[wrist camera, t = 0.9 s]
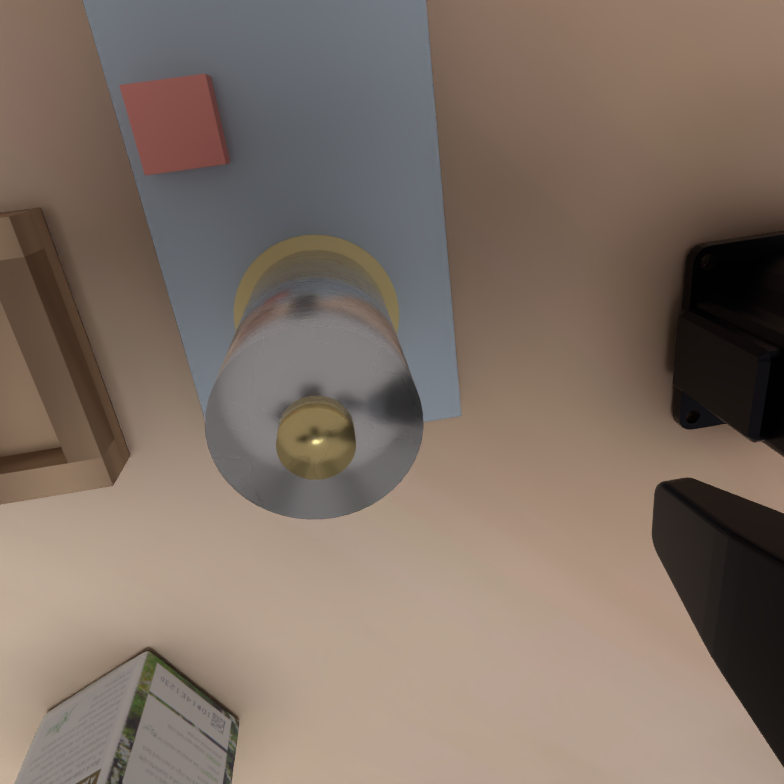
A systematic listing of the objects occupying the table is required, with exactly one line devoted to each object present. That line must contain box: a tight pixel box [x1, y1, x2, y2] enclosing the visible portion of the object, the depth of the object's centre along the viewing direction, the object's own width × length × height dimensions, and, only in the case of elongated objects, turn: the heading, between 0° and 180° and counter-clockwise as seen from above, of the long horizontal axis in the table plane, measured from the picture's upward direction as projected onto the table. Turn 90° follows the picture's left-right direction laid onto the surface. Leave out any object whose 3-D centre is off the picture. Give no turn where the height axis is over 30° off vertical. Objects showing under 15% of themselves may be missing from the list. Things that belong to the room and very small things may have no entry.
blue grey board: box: [83, 0, 461, 422], centre depth 15 cm, size 8×18×2 cm, turn 7°
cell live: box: [205, 250, 423, 519], centre depth 14 cm, size 4×4×8 cm
